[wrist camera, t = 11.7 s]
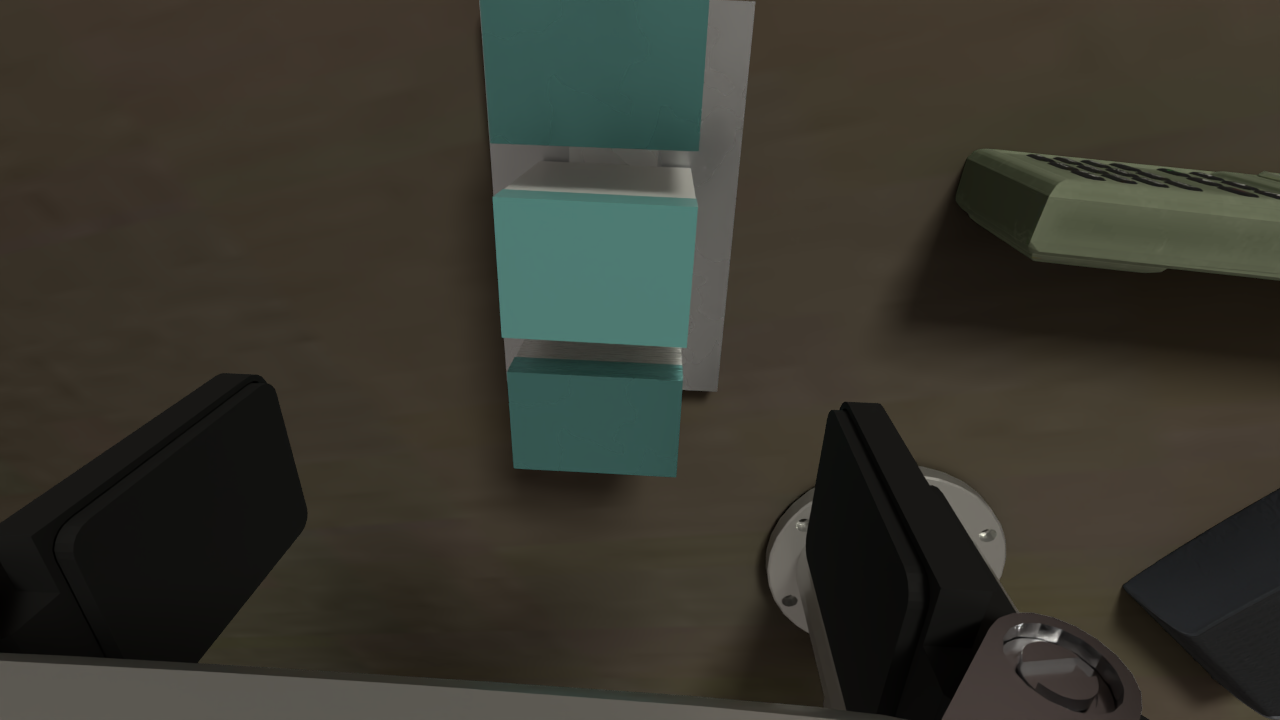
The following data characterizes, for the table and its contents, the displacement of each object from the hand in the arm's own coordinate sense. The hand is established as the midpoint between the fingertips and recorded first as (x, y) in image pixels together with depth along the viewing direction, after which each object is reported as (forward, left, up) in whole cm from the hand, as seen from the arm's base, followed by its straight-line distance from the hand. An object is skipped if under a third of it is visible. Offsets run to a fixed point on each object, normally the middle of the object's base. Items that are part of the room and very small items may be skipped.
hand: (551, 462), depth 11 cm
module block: (0, 0, -17) cm, 17 cm away
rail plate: (0, 0, -18) cm, 18 cm away
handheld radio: (+1, -26, -19) cm, 32 cm away
